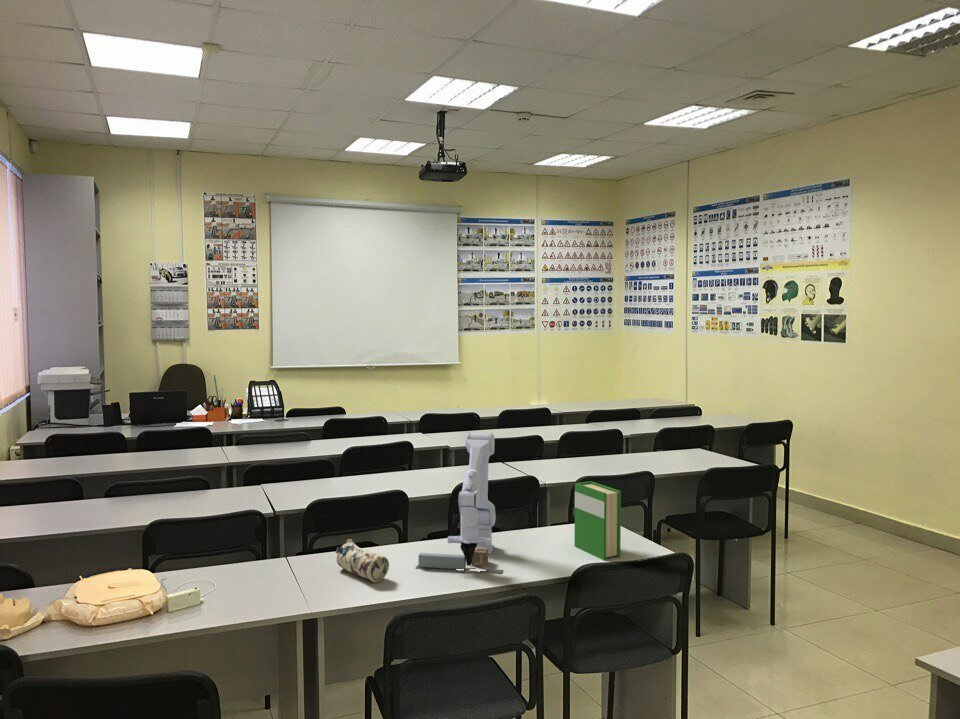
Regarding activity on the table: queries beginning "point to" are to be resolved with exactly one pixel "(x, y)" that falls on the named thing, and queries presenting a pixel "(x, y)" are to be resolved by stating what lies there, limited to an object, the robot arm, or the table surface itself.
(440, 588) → the table surface
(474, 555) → the walnut letter block
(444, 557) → the slate screen
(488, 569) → the metal track
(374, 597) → the table surface
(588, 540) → the hardback book
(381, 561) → the pencil case
